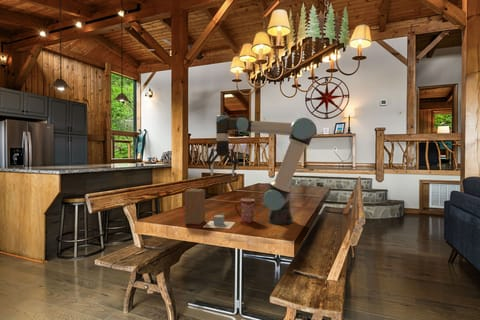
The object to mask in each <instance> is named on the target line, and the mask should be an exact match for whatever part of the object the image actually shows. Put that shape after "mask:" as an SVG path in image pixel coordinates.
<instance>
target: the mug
mask: <svg viewBox="0 0 480 320" xmlns="http://www.w3.org/2000/svg"><path fill="white" fill-rule="evenodd" d="M238 204H239V205H240V212H239V210H238V207H237V205H238ZM234 209H235V211H236V213H237V215H239V217H240V220H241V222H242V223H253V222H254V216H255V215H254V214H255V199H253V198H241V199H240V201H236V202H235V205H234Z"/></svg>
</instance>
